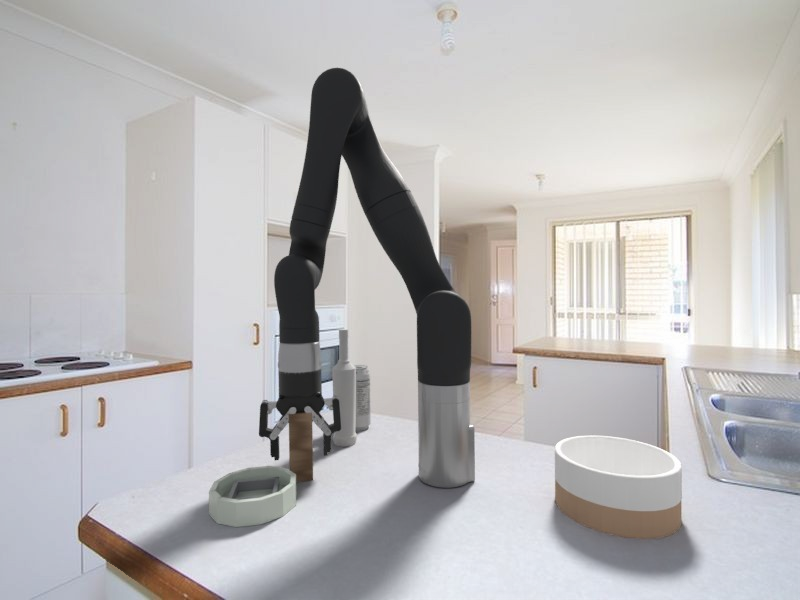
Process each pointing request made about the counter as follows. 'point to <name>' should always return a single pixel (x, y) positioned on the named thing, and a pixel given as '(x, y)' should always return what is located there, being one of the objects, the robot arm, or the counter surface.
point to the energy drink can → (362, 398)
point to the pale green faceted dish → (252, 496)
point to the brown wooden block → (301, 446)
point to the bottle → (345, 393)
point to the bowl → (619, 486)
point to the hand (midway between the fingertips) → (301, 456)
